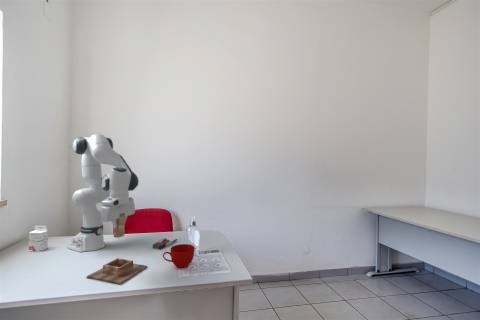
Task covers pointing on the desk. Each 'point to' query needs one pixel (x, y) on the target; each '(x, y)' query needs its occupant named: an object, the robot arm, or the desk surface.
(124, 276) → the wooden peg socket board
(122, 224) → the wooden peg
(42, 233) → the ink cartridge box
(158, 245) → the walkie-talkie
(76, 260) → the desk surface
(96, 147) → the robot arm
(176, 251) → the ceramic cup
